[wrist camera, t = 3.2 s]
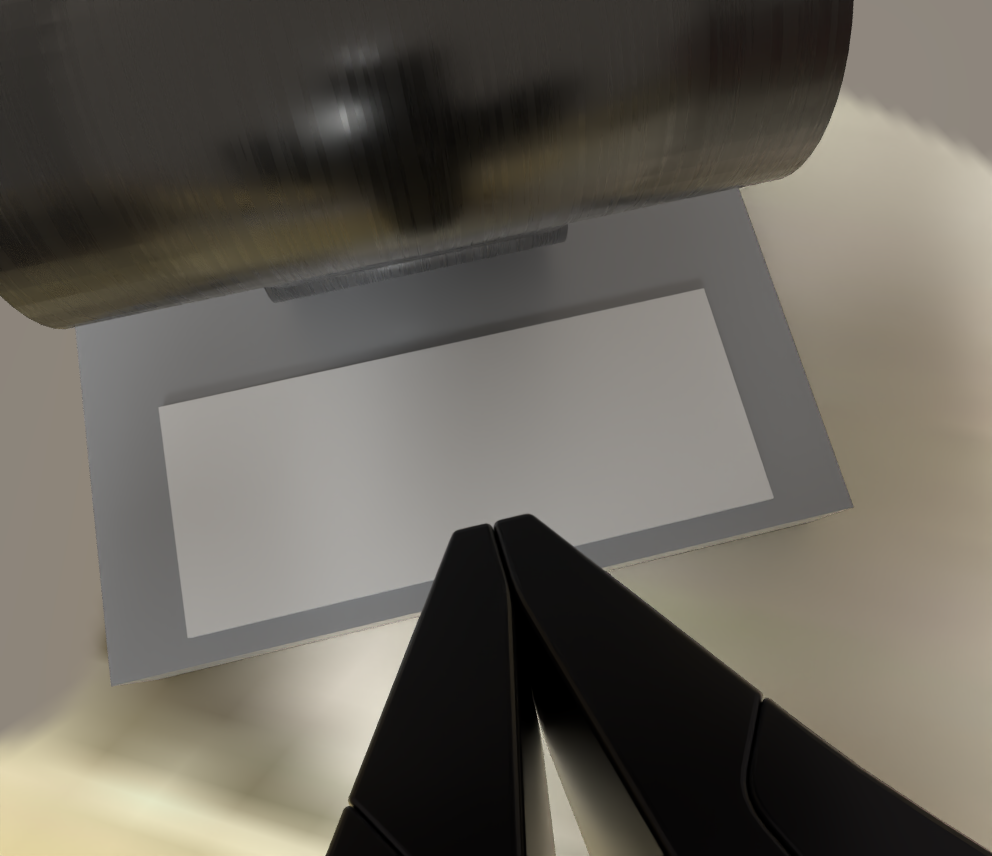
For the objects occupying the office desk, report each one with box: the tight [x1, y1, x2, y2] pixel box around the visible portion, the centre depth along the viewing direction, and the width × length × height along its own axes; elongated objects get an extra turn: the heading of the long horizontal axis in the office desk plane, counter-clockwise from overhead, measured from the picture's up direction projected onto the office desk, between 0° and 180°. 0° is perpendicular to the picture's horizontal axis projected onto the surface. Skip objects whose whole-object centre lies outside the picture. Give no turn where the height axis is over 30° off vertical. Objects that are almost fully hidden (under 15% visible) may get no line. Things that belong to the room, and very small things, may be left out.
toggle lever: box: [0, 0, 854, 329], centre depth 10 cm, size 2×6×11 cm, turn 103°
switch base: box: [75, 188, 853, 686], centre depth 16 cm, size 14×14×2 cm
